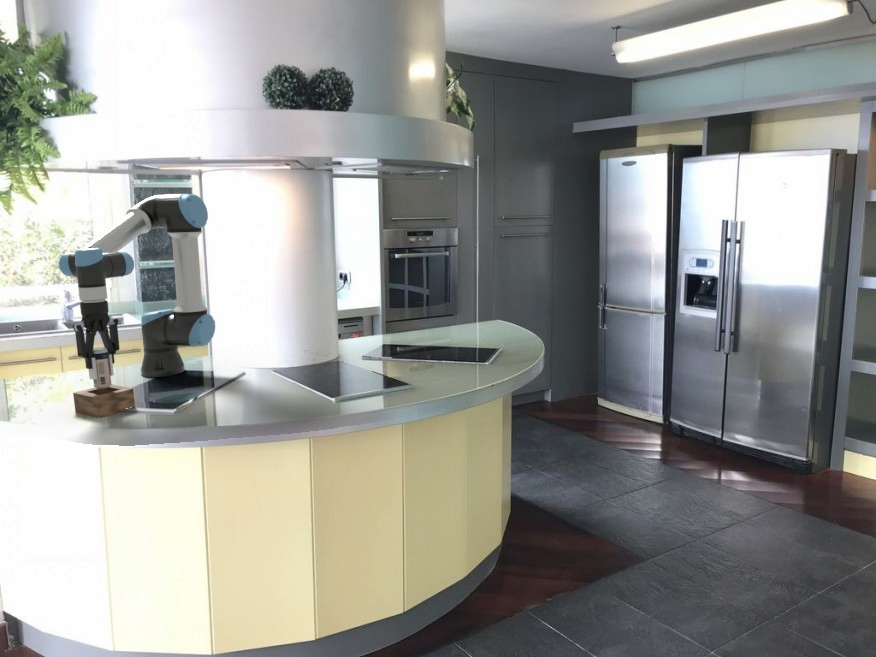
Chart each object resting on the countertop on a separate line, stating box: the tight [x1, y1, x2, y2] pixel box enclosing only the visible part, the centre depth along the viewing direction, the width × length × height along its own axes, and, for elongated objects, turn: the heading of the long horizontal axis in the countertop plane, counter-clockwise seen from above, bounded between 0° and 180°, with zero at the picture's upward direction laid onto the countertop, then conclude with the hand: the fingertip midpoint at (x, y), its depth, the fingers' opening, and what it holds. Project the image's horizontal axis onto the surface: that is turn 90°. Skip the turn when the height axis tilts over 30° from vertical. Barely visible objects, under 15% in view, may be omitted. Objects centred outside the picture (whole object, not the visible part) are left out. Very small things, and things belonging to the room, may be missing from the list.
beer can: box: [92, 346, 112, 389], centre depth 217 cm, size 5×5×12 cm
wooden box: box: [72, 383, 136, 418], centre depth 219 cm, size 12×12×6 cm
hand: (101, 376), depth 218 cm, fingers closed on beer can, 5 cm apart
